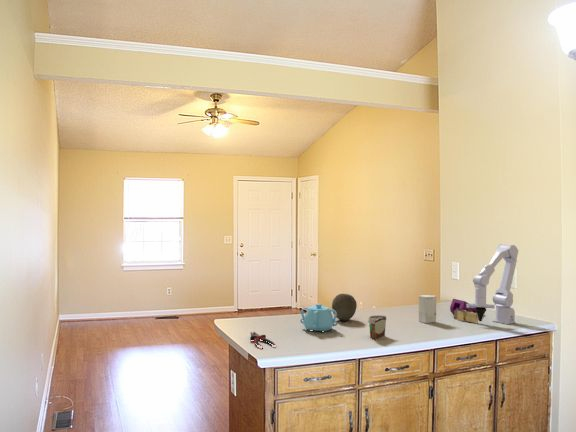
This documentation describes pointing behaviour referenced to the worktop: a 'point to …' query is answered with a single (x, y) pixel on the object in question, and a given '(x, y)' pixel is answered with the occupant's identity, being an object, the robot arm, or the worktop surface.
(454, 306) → the mounting bracket
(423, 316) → the skincare box
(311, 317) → the decorative pot
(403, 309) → the worktop surface
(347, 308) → the dark brown ball
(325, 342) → the worktop surface
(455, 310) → the fixed leaf
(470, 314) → the loose leaf
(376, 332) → the food container
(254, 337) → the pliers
